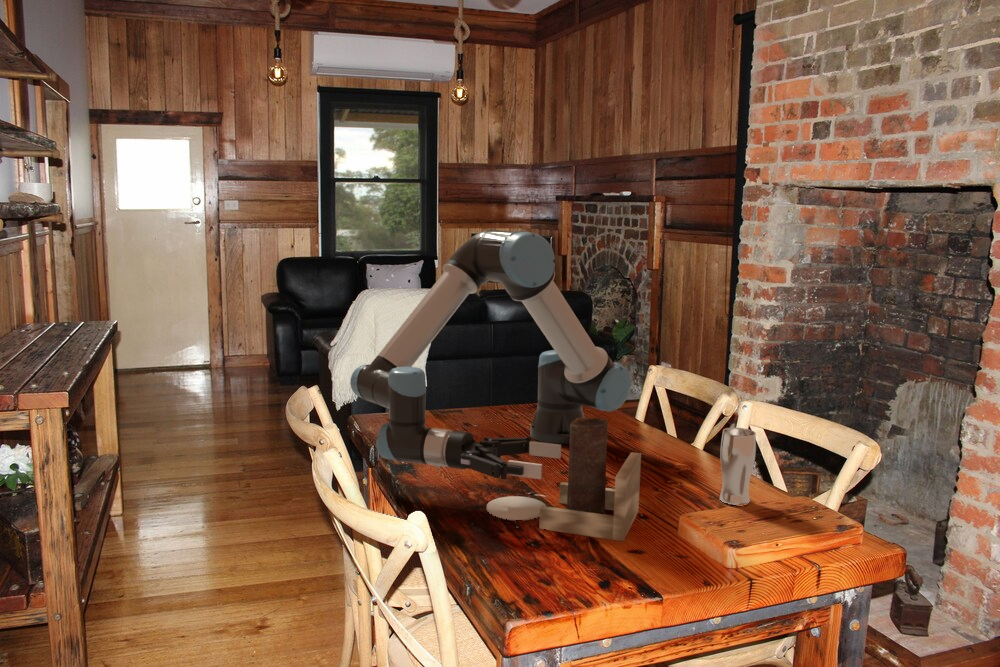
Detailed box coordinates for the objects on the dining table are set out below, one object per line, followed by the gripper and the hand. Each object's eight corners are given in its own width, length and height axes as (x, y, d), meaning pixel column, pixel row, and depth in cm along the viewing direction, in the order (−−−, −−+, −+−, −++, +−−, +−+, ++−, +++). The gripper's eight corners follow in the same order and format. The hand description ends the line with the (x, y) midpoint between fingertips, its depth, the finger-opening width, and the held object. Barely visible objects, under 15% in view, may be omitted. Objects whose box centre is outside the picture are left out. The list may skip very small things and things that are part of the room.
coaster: (511, 494, 174) (511, 492, 174) (558, 508, 167) (558, 505, 167) (474, 510, 165) (474, 507, 165) (522, 525, 158) (522, 523, 158)
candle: (593, 529, 156) (597, 426, 153) (559, 521, 160) (562, 420, 157) (610, 517, 163) (614, 418, 160) (577, 509, 167) (580, 412, 164)
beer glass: (711, 501, 173) (715, 431, 170) (727, 493, 178) (731, 425, 175) (742, 510, 168) (747, 438, 166) (757, 501, 173) (762, 431, 171)
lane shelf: (539, 528, 156) (540, 467, 154) (560, 500, 171) (562, 444, 169) (623, 541, 151) (626, 478, 149) (638, 511, 166) (641, 453, 164)
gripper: (472, 449, 181) (567, 461, 174) (425, 485, 157) (531, 500, 151) (473, 416, 180) (568, 426, 173) (425, 447, 156) (532, 461, 149)
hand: (551, 461), depth 162 cm, fingers open, 13 cm apart
